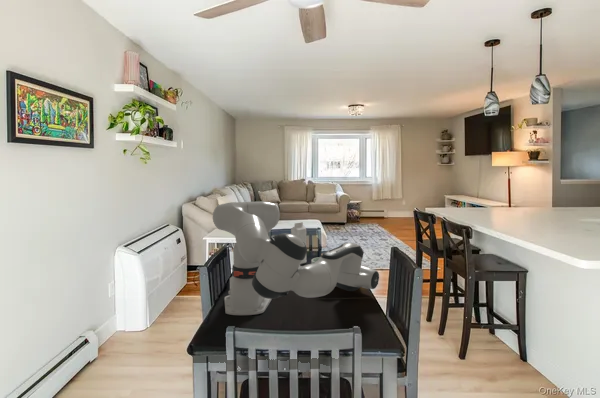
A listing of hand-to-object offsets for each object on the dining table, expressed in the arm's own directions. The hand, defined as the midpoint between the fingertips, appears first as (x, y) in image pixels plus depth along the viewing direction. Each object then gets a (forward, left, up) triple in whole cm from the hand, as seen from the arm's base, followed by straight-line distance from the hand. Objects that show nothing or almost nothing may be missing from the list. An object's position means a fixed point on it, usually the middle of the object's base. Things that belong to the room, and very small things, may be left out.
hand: (323, 264), depth 164 cm
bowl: (+16, -2, -7) cm, 18 cm away
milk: (+30, +10, -8) cm, 33 cm away
